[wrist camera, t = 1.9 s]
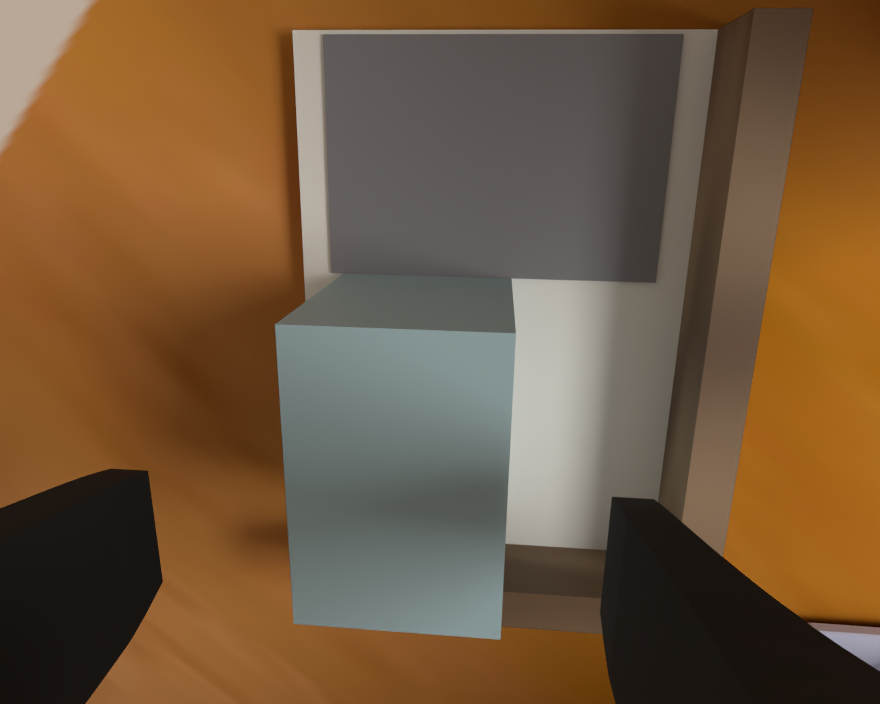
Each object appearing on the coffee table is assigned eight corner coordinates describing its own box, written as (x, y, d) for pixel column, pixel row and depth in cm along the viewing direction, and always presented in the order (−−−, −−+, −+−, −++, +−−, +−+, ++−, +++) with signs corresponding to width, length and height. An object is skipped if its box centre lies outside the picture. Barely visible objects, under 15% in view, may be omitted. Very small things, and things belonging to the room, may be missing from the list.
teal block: (500, 503, 17) (500, 639, 12) (351, 494, 17) (293, 624, 12) (511, 277, 15) (516, 333, 10) (344, 272, 16) (275, 324, 11)
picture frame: (680, 576, 18) (708, 642, 15) (322, 552, 18) (296, 610, 16) (759, 33, 14) (813, 7, 11) (298, 34, 15) (259, 10, 12)
